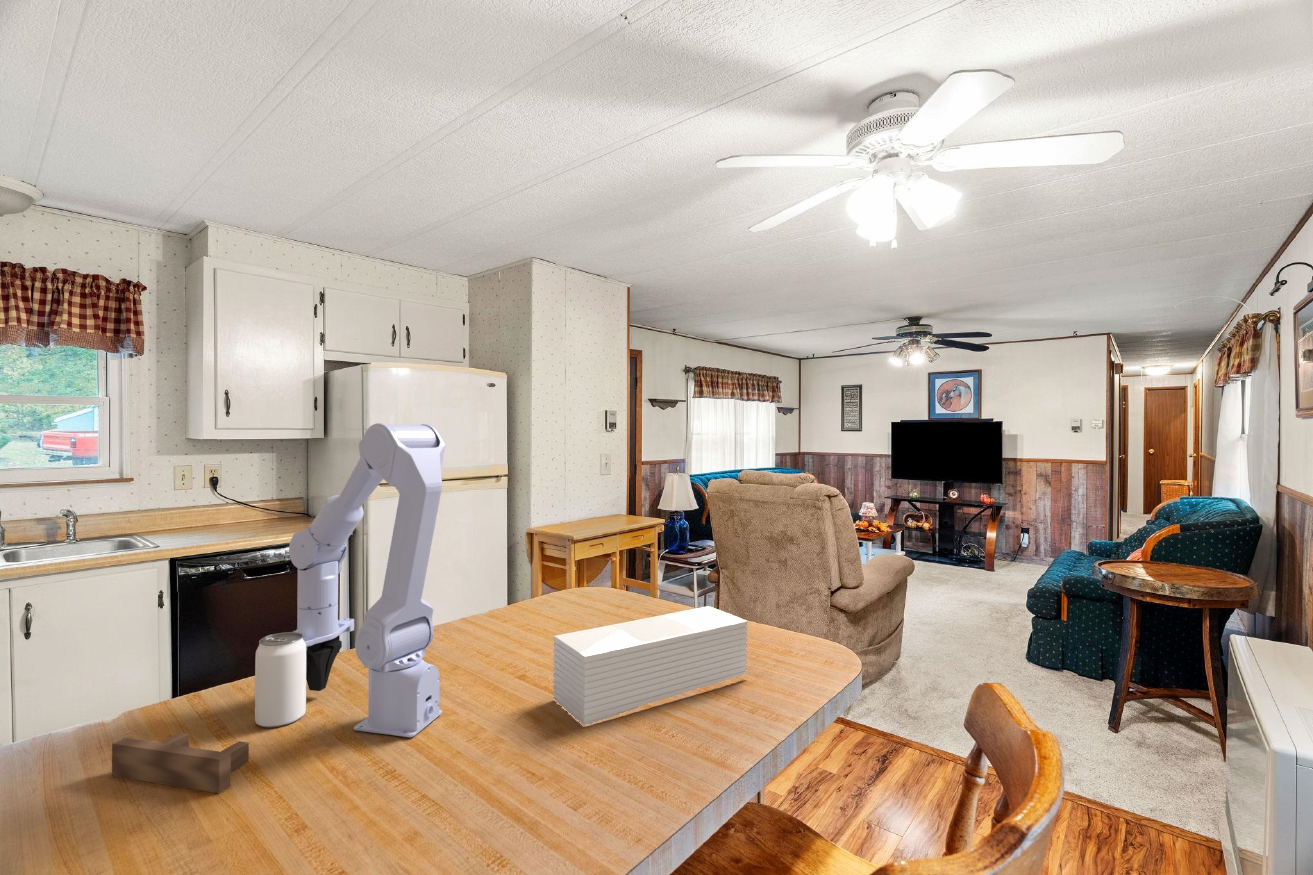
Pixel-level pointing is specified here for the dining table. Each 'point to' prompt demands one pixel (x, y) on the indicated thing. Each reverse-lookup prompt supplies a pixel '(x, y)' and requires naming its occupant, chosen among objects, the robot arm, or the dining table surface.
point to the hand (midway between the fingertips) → (317, 688)
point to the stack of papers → (646, 661)
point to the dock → (178, 762)
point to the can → (280, 679)
